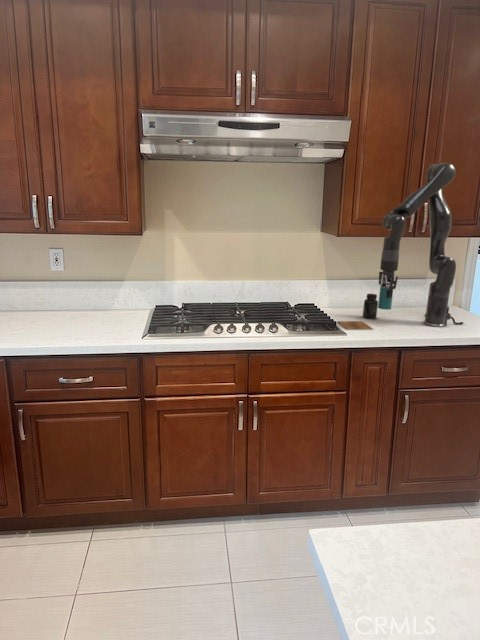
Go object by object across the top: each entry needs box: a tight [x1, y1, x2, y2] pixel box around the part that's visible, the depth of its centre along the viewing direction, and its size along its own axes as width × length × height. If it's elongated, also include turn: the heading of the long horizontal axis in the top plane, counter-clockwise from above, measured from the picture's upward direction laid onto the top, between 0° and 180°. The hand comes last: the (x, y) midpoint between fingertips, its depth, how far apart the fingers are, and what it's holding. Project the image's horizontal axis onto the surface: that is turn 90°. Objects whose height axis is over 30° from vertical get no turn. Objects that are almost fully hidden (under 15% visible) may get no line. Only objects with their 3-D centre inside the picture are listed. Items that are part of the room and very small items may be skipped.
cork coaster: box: [337, 320, 373, 330], centre depth 219 cm, size 12×12×1 cm
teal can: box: [377, 285, 394, 311], centre depth 213 cm, size 6×6×10 cm
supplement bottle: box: [362, 293, 379, 320], centre depth 234 cm, size 7×7×12 cm
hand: (385, 296), depth 213 cm, fingers closed on teal can, 5 cm apart
